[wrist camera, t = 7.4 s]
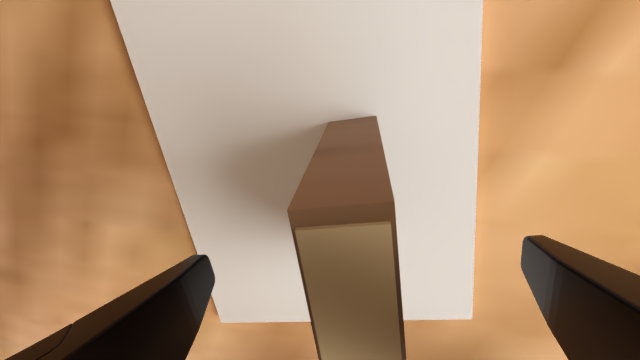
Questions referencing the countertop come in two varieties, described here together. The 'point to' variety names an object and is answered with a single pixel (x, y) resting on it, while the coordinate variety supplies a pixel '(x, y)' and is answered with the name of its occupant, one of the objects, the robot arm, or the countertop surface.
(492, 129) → the countertop surface
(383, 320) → the walnut slab
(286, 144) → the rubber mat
